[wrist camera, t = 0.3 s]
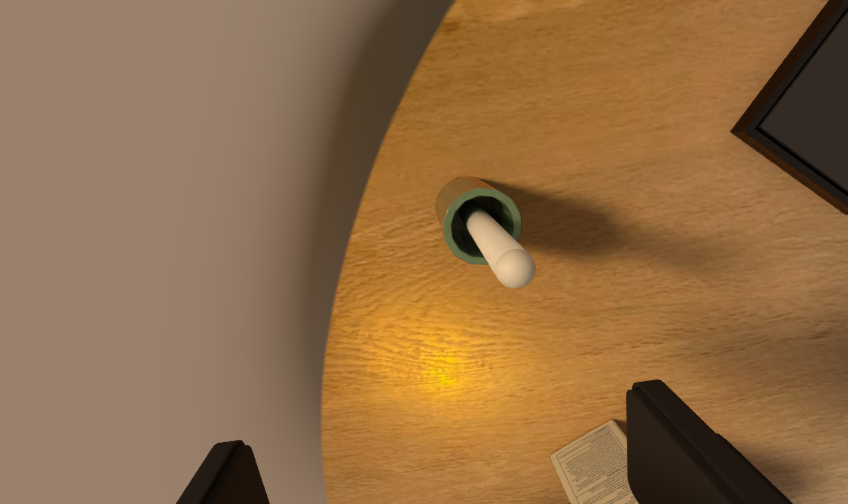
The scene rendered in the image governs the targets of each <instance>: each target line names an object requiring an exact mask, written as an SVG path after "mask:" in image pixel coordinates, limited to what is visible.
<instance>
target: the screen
mask: <svg viewBox="0 0 848 504" xmlns="http://www.w3.org/2000/svg"><path fill="white" fill-rule="evenodd" d="M758 128H759V129H761V130H762V131H763V132H765V133H766V134H767V135H769V136H770V137H772V138H773V139H774V140H776V141H777V142H778V143H780V144H781V145H782V146H784V147H785V148H787V149H788V150H789V151H791V152H792V153H793V154H795V155H796V156H798V157H799V158H800V159H802V160H803V161H804V162H806V163H807V164H808V165H810V166H811V167H813V168H814V169H815V170H817V171H818V172H819V173H821V174H822V175H824V176H825V177H826V178H828V179H829V180H830V181H832V182H833V183H835V184H836V185H837V186H839V187H840V188H841V189H843V190H844V191H845V192H847V193H848V9H847V10H846V12H845V13H844V14H843V16H842V17H841V18H840V20H839V21H838V22H837V24H836V25H835V26H834V27H833V29H832V30H831V31H830V33H829V34H828V35H827V37H826V38H825V39H824V41H823V42H822V43H821V44H820V46H819V47H818V48H817V50H816V51H815V52H814V54H813V55H812V56H811V58H810V59H809V60H808V61H807V63H806V64H805V65H804V67H803V68H802V69H801V71H800V72H799V73H798V75H797V76H796V77H795V78H794V80H793V81H792V82H791V84H790V85H789V86H788V88H787V89H786V90H785V91H784V93H783V94H782V95H781V97H780V98H779V99H778V101H777V102H776V103H775V105H774V106H773V107H772V108H771V110H770V111H769V112H768V114H767V115H766V116H765V118H764V119H763V120H762V122H761V123H760V124H759V125H758Z"/></svg>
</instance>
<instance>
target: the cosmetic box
mask: <svg viewBox="0 0 848 504" xmlns="http://www.w3.org/2000/svg"><path fill="white" fill-rule="evenodd" d="M550 459H551V461H552V463H553V465H554V468H555V470H556V472H557V474H558V477H559V479H560V481H561V483H562V485H563V487H564V490H565V492H566V494H567V496H568V499H569V501H570V503H571V504H638V502H637V500H636V499H635V497H634V495H633V494H632V492H631V489H630V487H629V484H628V479H627V436H626V435H625V434H624V432H623V431H622V430H621V428H620V427H619V426H618V425H617V423H616V422H615V421H614V420H609V421H608V422H606V423H604V424H602V425H600V426H599V427H597V428H595V429H593V430H592V431H590V432H588V433H587V434H585V435H583V436H582V437H580V438H578V439H576V440H575V441H573V442H571V443H569V444H568V445H566V446H564V447H563V448H561V449H560V450H558V451H557V452H555V453H553V454H552V455H550Z"/></svg>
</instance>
